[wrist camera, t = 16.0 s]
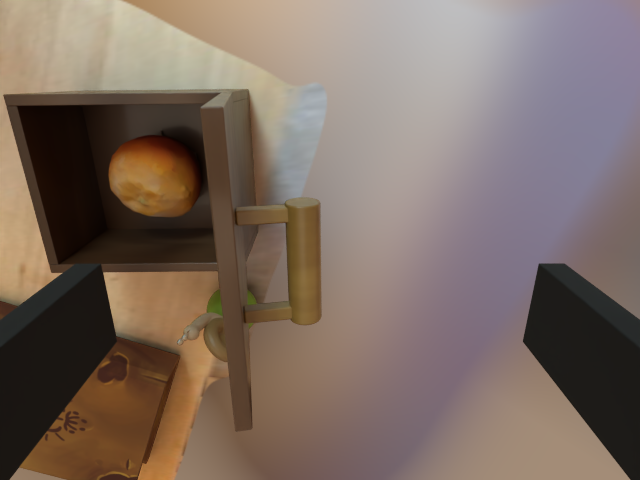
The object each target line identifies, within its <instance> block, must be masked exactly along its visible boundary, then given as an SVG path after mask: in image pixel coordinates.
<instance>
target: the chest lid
mask: <svg viewBox="0 0 640 480" xmlns="http://www.w3.org/2000/svg"><path fill="white" fill-rule="evenodd" d="M200 113H201V122H202V131H203V140H204V149H205V159H206V168H207V177H208V186H209V195H210V204H211V213H212V223H213V232H214V241H215V250H216V259H217V268H218V277H219V287H220V296H221V305H222V314H223V323H224V332H225V341H226V351H227V360H228V369H229V378H230V387H231V396H232V405H233V415H234V424H235V431H236V432H238V431H244V430H251V429H252V404H251V377H250V349H249V323H258V322H268V321H277V320H287V319H291V321H292V322H294V323H296V324H299V325H311V324H314V323H316V322H318V321H319V320H320V318H321V222H320V201H319V200H317V199H313V198H293V199H290V200H287V201H286V202H285V204H283V205H266V206H249V207H241V197H240V185H239V172H238V160H237V148H236V136H235V123H234V111H233V99H232V93H231V92H222V93H220V94H219V95H217V96H216V97H214V98H213V99H212V100H210V101H209V102H207V103H206V104H204V105H203V106H202V107H200ZM274 223H286V244H287V268H288V292H289V301H284V302H273V303H263V304H253V305H248V295H247V270H246V258H245V246H244V233H243V226H244V225H259V224H274Z"/></svg>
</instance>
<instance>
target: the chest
mask: <svg viewBox="0 0 640 480" xmlns="http://www.w3.org/2000/svg"><path fill="white" fill-rule="evenodd" d="M222 92H231V93H232V99H233V111H234V123H235V136H236V148H237V160H238V172H239V185H240V197H241V207H249V206H256V195H255V181H254V166H253V151H252V136H251V122H250V107H249V92H248V89H220V90H126V91H66V92H46V93H26V94H6V95H4V99H5V103H6V106H7V110H8V114H9V117H10V121H11V125H12V128H13V132H14V136H15V140H16V143H17V147H18V151H19V154H20V158H21V162H22V166H23V169H24V173H25V177H26V180H27V184H28V188H29V191H30V195H31V199H32V203H33V206H34V210H35V214H36V217H37V221H38V225H39V229H40V232H41V236H42V240H43V243H44V247H45V251H46V254H47V258H48V262H49V264H50V269H51V272H52V273H64V272H65V271H66V270H68V269H69V268H70V267H72V266H73V265H74V264H101V266H102V271H103V272H170V271H218V268H217V259H216V250H215V241H214V232H213V223H212V213H211V204H210V195H209V186H208V177H207V168H206V159H205V149H204V140H203V131H202V122H201V113H200V107H202V106H203V105H204V104H206V103H207V102H209V101H210V100H212V99H213V98H214V97H216V96H217V95H219V94H220V93H222ZM161 130H162V136H166V137H170V138H173V139H175V140H178V141H180V142H182V143H183V144H185V145H186V146H187V147H188V148H189V149H190V150H192V151H193V152H197V153H196V155H197V160H198V162H199V165H200V170H201V178H202V182H201V191H200V194H199V197H198V199H197V201H196V203H195V204H194V206H193V207H192V208H191V210H190V211H189V212H187V213H185V214H184V215H182V216H178V217H152V216H146V215H143V214H141V213H137V212H133V211H132V210H131V209H129V208H128V207H126V206H125V205H124V204H123V203H122V202H121V200H120V199H119V198H118V197H117V196H116V195H115V194H114V193H113V191H112V190H111V188H110V182H109V166H110V162H111V158H112V155H113V154H114V153H115V152H116V151H117V150H118V148H119V147H120V146H121V145H122V144H123V143H125V142H127V141H130V140H132V139H135V138H137V137H141V136H146V135H160V131H161ZM243 233H244V246H245V258H246V261H247V258H248V256H249V253H250V251H251V248H252V246H253V243H254V241H255V238H256V236H257V233H258V225H244V226H243Z"/></svg>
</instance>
